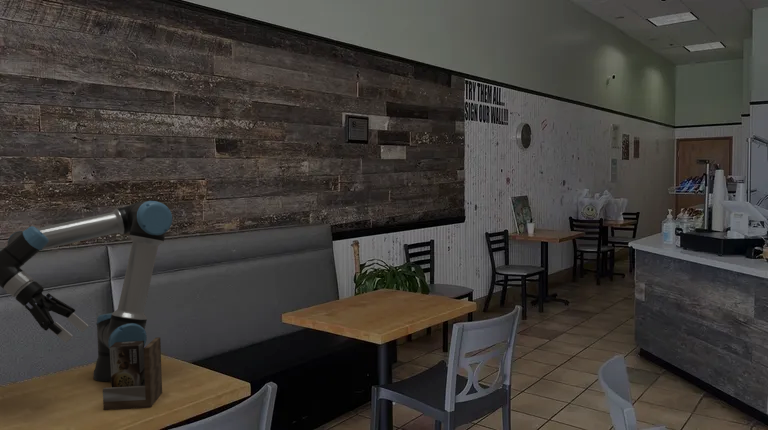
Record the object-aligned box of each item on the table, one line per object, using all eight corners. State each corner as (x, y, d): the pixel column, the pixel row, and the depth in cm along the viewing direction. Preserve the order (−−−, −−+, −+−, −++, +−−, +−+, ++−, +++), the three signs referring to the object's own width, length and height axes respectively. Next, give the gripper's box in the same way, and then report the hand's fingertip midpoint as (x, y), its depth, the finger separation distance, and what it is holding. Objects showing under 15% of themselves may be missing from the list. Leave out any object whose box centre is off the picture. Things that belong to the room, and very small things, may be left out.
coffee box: (146, 389, 197) (145, 340, 197) (141, 396, 191) (139, 345, 190) (117, 391, 196) (115, 341, 196) (110, 397, 190) (109, 346, 189)
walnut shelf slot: (118, 395, 200) (116, 339, 199) (162, 392, 202) (160, 337, 201) (103, 410, 186) (101, 350, 185) (150, 407, 188) (148, 348, 187)
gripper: (33, 291, 202) (83, 333, 204) (-5, 305, 177) (53, 353, 179) (50, 274, 202) (99, 317, 205) (14, 286, 177) (71, 334, 180)
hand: (78, 334), depth 192 cm, fingers open, 13 cm apart
